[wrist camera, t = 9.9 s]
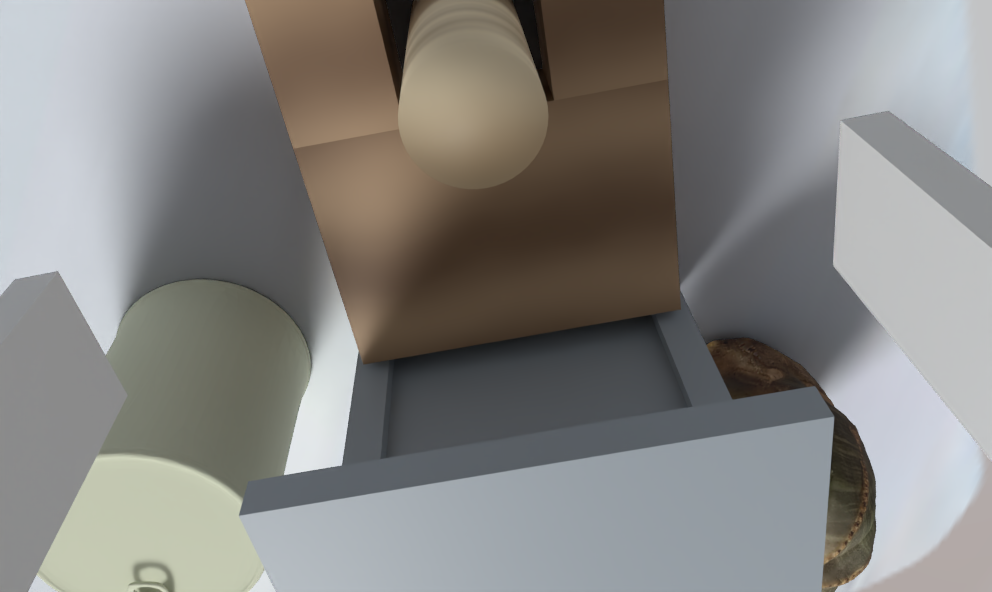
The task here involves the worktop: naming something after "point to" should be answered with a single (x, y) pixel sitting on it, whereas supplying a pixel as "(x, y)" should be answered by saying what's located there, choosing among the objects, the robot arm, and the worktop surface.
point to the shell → (851, 473)
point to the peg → (470, 93)
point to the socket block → (489, 211)
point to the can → (185, 444)
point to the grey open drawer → (558, 474)
